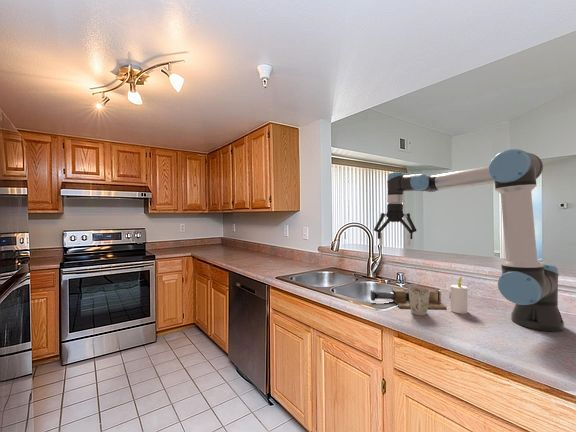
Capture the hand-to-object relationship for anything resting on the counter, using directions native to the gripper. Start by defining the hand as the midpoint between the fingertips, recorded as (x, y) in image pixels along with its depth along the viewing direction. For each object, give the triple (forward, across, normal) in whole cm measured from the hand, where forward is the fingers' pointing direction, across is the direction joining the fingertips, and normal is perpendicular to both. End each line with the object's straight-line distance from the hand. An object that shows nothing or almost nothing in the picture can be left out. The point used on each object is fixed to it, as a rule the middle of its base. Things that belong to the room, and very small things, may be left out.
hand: (394, 245), depth 145 cm
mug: (+26, -3, +26) cm, 37 cm away
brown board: (+26, -7, +8) cm, 28 cm away
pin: (+26, +2, +8) cm, 27 cm away
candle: (+26, -22, +20) cm, 39 cm away
